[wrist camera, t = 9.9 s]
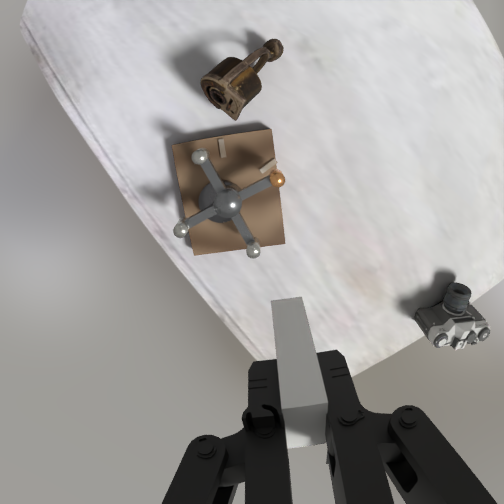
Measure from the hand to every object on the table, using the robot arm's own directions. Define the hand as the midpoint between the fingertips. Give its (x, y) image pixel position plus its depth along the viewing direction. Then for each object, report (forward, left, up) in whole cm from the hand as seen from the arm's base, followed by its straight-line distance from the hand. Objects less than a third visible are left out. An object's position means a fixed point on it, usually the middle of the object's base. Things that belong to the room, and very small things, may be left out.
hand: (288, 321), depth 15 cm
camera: (+27, +35, -33) cm, 55 cm away
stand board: (0, -5, -33) cm, 33 cm away
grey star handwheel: (0, -5, -31) cm, 31 cm away
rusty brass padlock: (-17, -1, -33) cm, 37 cm away
